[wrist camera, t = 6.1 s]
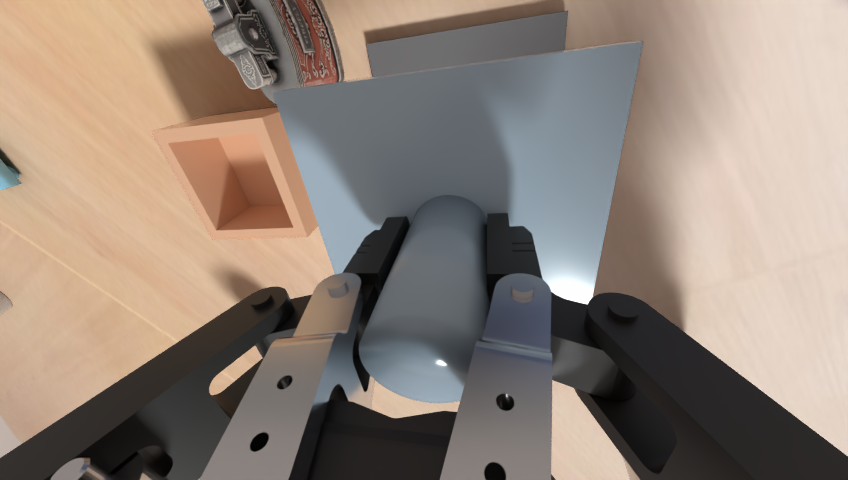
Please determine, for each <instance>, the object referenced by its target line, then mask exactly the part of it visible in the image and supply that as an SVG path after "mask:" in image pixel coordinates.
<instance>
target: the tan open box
mask: <svg viewBox="0 0 848 480" xmlns="http://www.w3.org/2000/svg"><path fill="white" fill-rule="evenodd" d="M150 132H151V133H152V135H153V137H154V139H155V140H156V142H157V144H158V146H159V147H160V149H161V151H162V153H163V154H164V156H165V158H166V160H167V161H168V163H169V165H170V167H171V168H172V170H173V172H174V174H175V175H176V177H177V179H178V181H179V182H180V184H181V186H182V188H183V189H184V191H185V193H186V195H187V196H188V198H189V200H190V202H191V203H192V205H193V207H194V209H195V210H196V212H197V214H198V215H199V217H200V219H201V221H202V222H203V224H204V226H205V228H206V229H207V231H208V233H209V235H210V236H211V238H212V240H229V239H263V238H296V237H308V236H309V235H310V234H311V233H312V232H313V231H314V230H315V228H316V227H317V226H318V223H317V220H316V217H315V215H314V212H313V209H312V206H311V203H310V200H309V197H308V194H307V191H306V188H305V186H304V183H303V180H302V177H301V174H300V171H299V168H298V165H297V162H296V159H295V157H294V154H293V151H292V148H291V145H290V142H289V139H288V136H287V133H286V131H285V128H284V125H283V122H282V119H281V116H280V113H279V110H278V107H273V108H266V109H258V110H250V111H243V112H235V113H227V114H219V115H212V116H206V117H202V118H198V119H195V120H191V121H187V122H183V123H180V124H176V125H172V126H168V127H165V128H161V129H157V130H154V131H150Z"/></svg>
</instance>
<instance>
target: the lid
mask: <svg viewBox="0 0 848 480" xmlns="http://www.w3.org/2000/svg"><path fill="white" fill-rule="evenodd" d="M642 46H643V41H638V42H621V43H614V44H607V45H600V46H593V47H585V48H578V49H571V50H564V51H557V52H549V53H542V54H535V55H528V56H521V57H514V58H506V59H499V60H492V61H485V62H478V63H471V64H463V65H456V66H449V67H442V68H435V69H427V70H420V71H413V72H406V73H399V74H392V75H384V76H377V77H370V78H363V79H356V80H349V81H341V82H334V83H327V84H320V85H313V86H305V87H298V88H291V89H287V90H282V91H277V92H273V96H274V99H275V102H276V104H277V107H278V110H279V113H280V116H281V119H282V122H283V125H284V128H285V131H286V133H287V136H288V139H289V142H290V145H291V148H292V151H293V154H294V157H295V159H296V162H297V165H298V168H299V171H300V174H301V177H302V180H303V183H304V186H305V188H306V191H307V194H308V197H309V200H310V203H311V206H312V209H313V212H314V215H315V217H316V220H317V223H318V226H319V229H320V232H321V235H322V238H323V241H324V244H325V246H326V249H327V252H328V255H329V258H330V261H331V264H332V267H333V270H334V273H335V274H339V273H342V272H343V271H344V269H345V268H346V266H347V265H348V263H349V262H350V260H351V258H352V257H353V255H354V254H355V253H356V251H357V249H358V247H360V244H361V243H362V241H363V240H364V238H365V237H366V236H367V235H369V234H370V233H371V232H373V231H374V230H380V228H381V227H382V225H383V223H384V222H385V220H386V218H387V217H403V216H407V217H408V219H409V223H410V226H409V229H408V231H407V233H406V236H405V238H404V240H403V243H402V245H401V247H400V250H399V252H398V254H397V257H396V259H395V261H394V264H393V266H392V268H391V270H390V273H389V275H388V277H387V280H386V282H385V284H384V287H383V289H382V291H381V294H380V296H379V298H378V301H377V303H376V305H375V307H374V310H373V312H372V314H371V317H370V319H369V321H368V324H367V326H366V328H365V331H364V333H363V335H362V338H361V340H360V343H359V356H360V359H361V362H362V364H363V366H364V367H365V369H366V371H367V372H368V373H369V374H370V375H371V376H372V377H373V378H374V379H375V380H376V381H377V382H378V383H379V384H381V385H382V386H384V387H385V388H387V389H389V390H390V391H392V392H394V393H396V394H399V395H401V396H404V397H406V398H409V399H413V400H417V401H422V402H428V403H451V402H457V401H460V400H461V397H462V393H463V389H464V385H465V381H466V377H467V374H468V370H469V366H470V362H471V358H472V355H473V351H474V347H475V344H476V342H477V340H478V339H481V340H482V338H483V334H484V330H485V326H486V322H487V318H488V314H489V310H490V300H489V297H488V293H487V214H488V213H508V218H509V226H524V227H525V228H526V229H528V230H529V231H530V232H531V233H532V236H533V240H534V245H535V249H536V253H537V257H538V262H539V266H540V270H541V274H542V279H543V280H544V281H545V282H546V283H547V284H548V285H549V287H550V289H551V292H553V293H554V294H556V295H558V296H560V297H562V298H565V299H568V300H571V301H575V302H579V303H584V304H588V302H589V301H590V300H591V299H592V297H593V292H594V287H595V282H596V277H597V272H598V267H599V262H600V257H601V252H602V247H603V242H604V237H605V232H606V227H607V222H608V217H609V212H610V207H611V202H612V196H613V191H614V186H615V181H616V176H617V171H618V166H619V161H620V156H621V151H622V146H623V141H624V136H625V131H626V126H627V121H628V116H629V111H630V106H631V101H632V96H633V91H634V86H635V81H636V76H637V71H638V66H639V61H640V56H641V51H642Z"/></svg>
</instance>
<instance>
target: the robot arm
mask: <svg viewBox="0 0 848 480" xmlns="http://www.w3.org/2000/svg"><path fill="white" fill-rule="evenodd" d="M409 226H410V223H409V219H408V217H407V216H403V217H387V218H386V220H385V222H384V223H383V225H382V227H381V228H380V230H374V231H373V232H371V233H370V234H369V235H367V236H366V237H365V238H364V240H363V241H362V243H361V244H360V247H358V249H357V251H356V253H355V254H354V255H353V257H352V258H351V260H350V262H349V263H348V265H347V266H346V268H345V269H344V271H343V272H342V273H339V274H335V275H332V276H330V277H328V278H326V279H324V280H323V281H322V282H320V283H319V284H318V285H317V287H316V288H315V290H314V292H313V294H312V295H308V296H303V297H299V298H294V299H290V298H289V295H288V293H287V291H286V290H285V289H284V288H281V287H269V288H265V289H262V290H259V291H257V292H255V293H253V294H251V295H250V296H248V297H247V298H245V299H244V300H242V301H240V302H239V303H237V304H236V305H234V306H233V307H231V308H230V309H228V310H227V311H225V312H224V313H222V314H221V315H219V316H217V317H216V318H214V319H213V320H211V321H210V322H208V323H207V324H205V325H204V326H202V327H201V328H199V329H198V330H196V331H194V332H193V333H191V334H190V335H188V336H187V337H185V338H184V339H182V340H181V341H179V342H178V343H176V344H175V345H173V346H171V347H170V348H168V349H167V350H165V351H164V352H162V353H161V354H159V355H158V356H156V357H155V358H153V359H152V360H150V361H148V362H147V363H145V364H144V365H142V366H141V367H139V368H138V369H136V370H135V371H133V372H132V373H130V374H129V375H127V376H125V377H124V378H122V379H121V380H119V381H118V382H116V383H115V384H113V385H112V386H110V387H109V388H107V389H106V390H104V391H102V392H101V393H99V394H98V395H96V396H95V397H93V398H92V399H90V400H89V401H87V402H86V403H84V404H83V405H81V406H79V407H78V408H76V409H75V410H73V411H72V412H70V413H69V414H67V415H66V416H64V417H63V418H61V419H60V420H58V421H56V422H55V423H53V424H52V425H50V426H49V427H47V428H46V429H44V430H43V431H41V432H40V433H38V434H37V435H35V436H33V437H32V438H30V439H29V440H27V441H26V442H24V443H23V444H21V445H20V446H18V447H17V448H15V449H14V450H12V451H10V452H9V453H7V454H6V455H4V456H3V457H1V458H0V480H198V479H199V478H200V477H201V478H200V480H555V478H554V477H553V476H552V474H551V435H552V380H554V381H557V382H559V383H562V384H565V385H568V386H571V387H573V388H574V389H575V391H576V393H577V395H578V396H579V397H580V399H581V400H582V402H583V403H584V404H585V406H586V407H587V408H588V410H589V411H590V412H591V414H592V415H593V416H594V418H595V419H596V421H597V422H598V423H599V425H600V426H601V427H602V429H603V430H604V431H605V433H606V434H607V435H608V437H609V438H610V440H611V441H612V442H613V444H614V445H615V446H616V448H617V449H618V450H619V452H620V453H621V454H622V456H623V459H624V462H625V465H626V468H627V471H628V474H629V477H630V480H848V456H846V455H845V454H844V453H842V452H841V451H840V450H838V449H837V448H836V447H834V446H833V445H832V444H831V443H829V442H828V441H827V440H825V439H824V438H823V437H821V436H820V435H819V434H817V433H816V432H815V431H813V430H812V429H811V428H809V427H808V426H807V425H806V424H804V423H803V422H802V421H800V420H799V419H798V418H796V417H795V416H794V415H792V414H791V413H790V412H788V411H787V410H786V409H784V408H783V407H782V406H781V405H779V404H778V403H777V402H775V401H774V400H773V399H771V398H770V397H769V396H767V395H766V394H765V393H763V392H762V391H761V390H759V389H758V388H757V387H756V386H754V385H753V384H752V383H750V382H749V381H748V380H746V379H745V378H744V377H742V376H741V375H740V374H738V373H737V372H736V371H735V370H733V369H732V368H731V367H729V366H728V365H727V364H725V363H724V362H723V361H721V360H720V359H719V358H717V357H716V356H715V355H713V354H712V353H711V352H710V351H708V350H707V349H706V348H704V347H703V346H702V345H700V344H699V343H698V342H696V341H695V340H694V339H692V338H691V337H690V336H688V335H687V334H686V333H685V332H683V331H682V330H681V329H679V328H678V327H677V326H675V325H674V324H673V323H671V322H670V321H669V320H667V319H666V318H665V317H663V316H662V315H661V314H660V313H658V312H657V311H656V310H654V309H653V308H652V307H650V306H649V305H648V304H646V303H645V302H643V301H641V300H639V299H637V298H635V297H632V296H629V295H625V294H620V293H603V294H599V295H596V296H594V297H593V298H592V299H591V300H590V301H589V302H588V304H584V303H579V302H575V301H571V300H568V299H565V298H562V297H560V296H558V295H556V294H554V293H553V292H551V289H550V287H549V285H548V284H547V283H546V282H545V281H544V280H543V279H542V274H541V270H540V266H539V262H538V257H537V253H536V249H535V245H534V240H533V236H532V233H531V232H530V231H529V230H528V229H526V228H525V227H524V226H509V218H508V213H488V214H487V293H488V297H489V300H490V310H489V314H488V318H487V322H486V326H485V330H484V334H483V338H482V340H481V339H478V340H477V342H476V344H475V347H474V351H473V355H472V358H471V362H470V366H469V370H468V374H467V377H466V381H465V385H464V389H463V393H462V397H461V400H460V404H459V408H458V412H449V411H440V412H434V413H428V414H422V415H416V416H410V417H403V418H391V417H388V416H386V415H383V414H381V413H378V412H376V411H374V410H372V396H373V389H374V383H375V379H374V378H373V377H372V376H371V375H370V374H369V373H368V372H367V371H366V369H365V367H364V366H363V364H362V362H361V359H360V356H359V343H360V340H361V338H362V335H363V333H364V331H365V328H366V326H367V324H368V321H369V319H370V317H371V314H372V312H373V310H374V307H375V305H376V303H377V301H378V298H379V296H380V294H381V291H382V289H383V287H384V284H385V282H386V280H387V277H388V275H389V273H390V270H391V268H392V266H393V264H394V261H395V259H396V257H397V254H398V252H399V250H400V247H401V245H402V243H403V240H404V238H405V236H406V233H407V231H408V229H409ZM254 345H255V346H256V347H257V349H258V351H259V352H260V354H261V356H262V357H263V358H262V359H261V360H260V361H259V362H258V363H256V364H255V365H254V366H253V367H252V368H250V369H249V370H248V371H247V372H245V373H244V374H243V375H242V376H241V377H239V378H238V379H237V380H236V381H235V382H233V383H232V384H231V385H230V386H228V387H227V388H226V389H225V390H224V391H222V392H221V393H219V394H217V395H210V393H209V386H210V383H211V381H212V380H213V378H214V377H215V376H216V375H217V374H218V373H220V372H221V371H222V370H224V369H225V368H226V367H227V366H229V365H230V364H231V363H233V362H234V361H235V360H236V359H238V358H239V357H240V356H242V355H243V354H244V353H245V352H247V351H248V350H249V349H251V348H252V347H253V346H254Z"/></svg>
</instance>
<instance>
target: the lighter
mask: <svg viewBox="0 0 848 480" xmlns="http://www.w3.org/2000/svg"><path fill="white" fill-rule="evenodd" d="M202 2H203V3H204V5H205V7H206V9H207V11H208V13H209V15H210V17H211V19H212V21H213V23H214V30H213V32H212V36H213V40H214V42H215V43H216V45H217V47H218V49H219V50H220V51H221V53H222V54H223V55H225V56H226V57H228V58H229V59H230V60H231V61H232V62H234V63H235V65H236V67H237V69H238V71H239V73H240V75H241V77H242V79H243V81H244V83H245V84H246V86H247V87H248V88H250V89H252V90H253V89H258V88H260V89H261V90H262V92H263V93H264V95H265V96H266V97H267V98H268V99H269V100H270V101H272V102H273V103H275V104H276V102H275V99H274V96H273V92H277V91H282V90H287V89H291V88H298V87H305V86H313V85H320V84H327V83H334V82H341V81H344V69H343V64H342V59H341V54H340V50H339V46H338V43H337V40H336V36H335V33H334V30H333V27H332V24H331V22H330V19H329V17H328V15H327V12H326V10H325V8H324V5H323V3H322V1H321V0H202Z"/></svg>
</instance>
